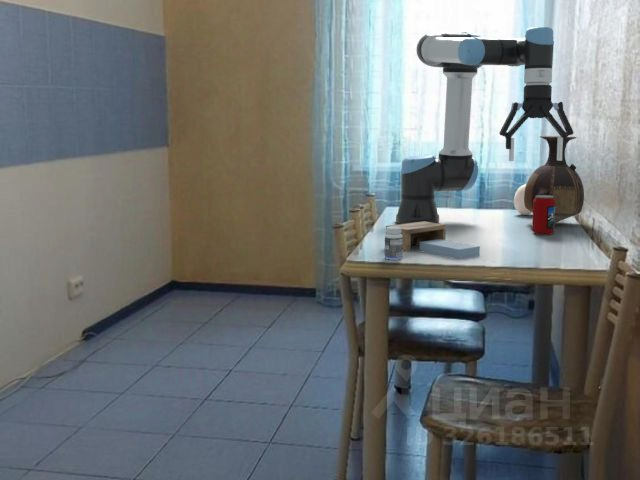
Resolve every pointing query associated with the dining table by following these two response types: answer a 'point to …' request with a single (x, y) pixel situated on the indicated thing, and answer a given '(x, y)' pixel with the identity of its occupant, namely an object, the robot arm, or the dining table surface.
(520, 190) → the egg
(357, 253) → the dining table surface
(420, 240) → the shelf
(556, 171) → the vase
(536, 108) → the robot arm
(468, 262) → the dining table surface
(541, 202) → the beverage can
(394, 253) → the pill bottle
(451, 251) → the panel
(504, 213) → the dining table surface
